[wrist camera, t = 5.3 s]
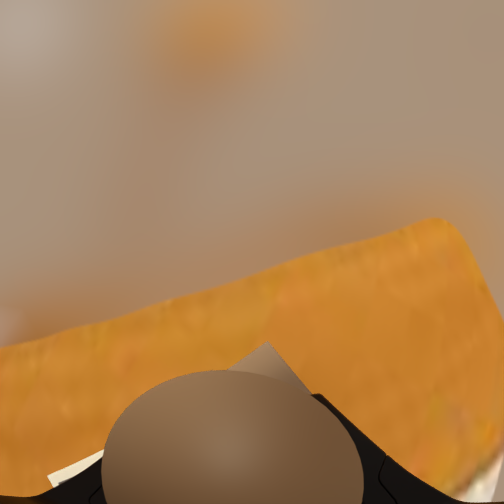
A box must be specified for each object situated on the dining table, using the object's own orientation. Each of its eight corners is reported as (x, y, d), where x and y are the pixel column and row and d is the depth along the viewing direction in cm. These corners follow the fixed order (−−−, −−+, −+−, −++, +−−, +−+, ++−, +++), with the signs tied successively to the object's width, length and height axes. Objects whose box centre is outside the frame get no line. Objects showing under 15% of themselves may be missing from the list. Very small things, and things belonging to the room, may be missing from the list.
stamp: (341, 441, 12) (493, 473, 2) (242, 508, 10) (194, 650, 1) (267, 354, 14) (269, 221, 5) (171, 418, 13) (1, 399, 3)
